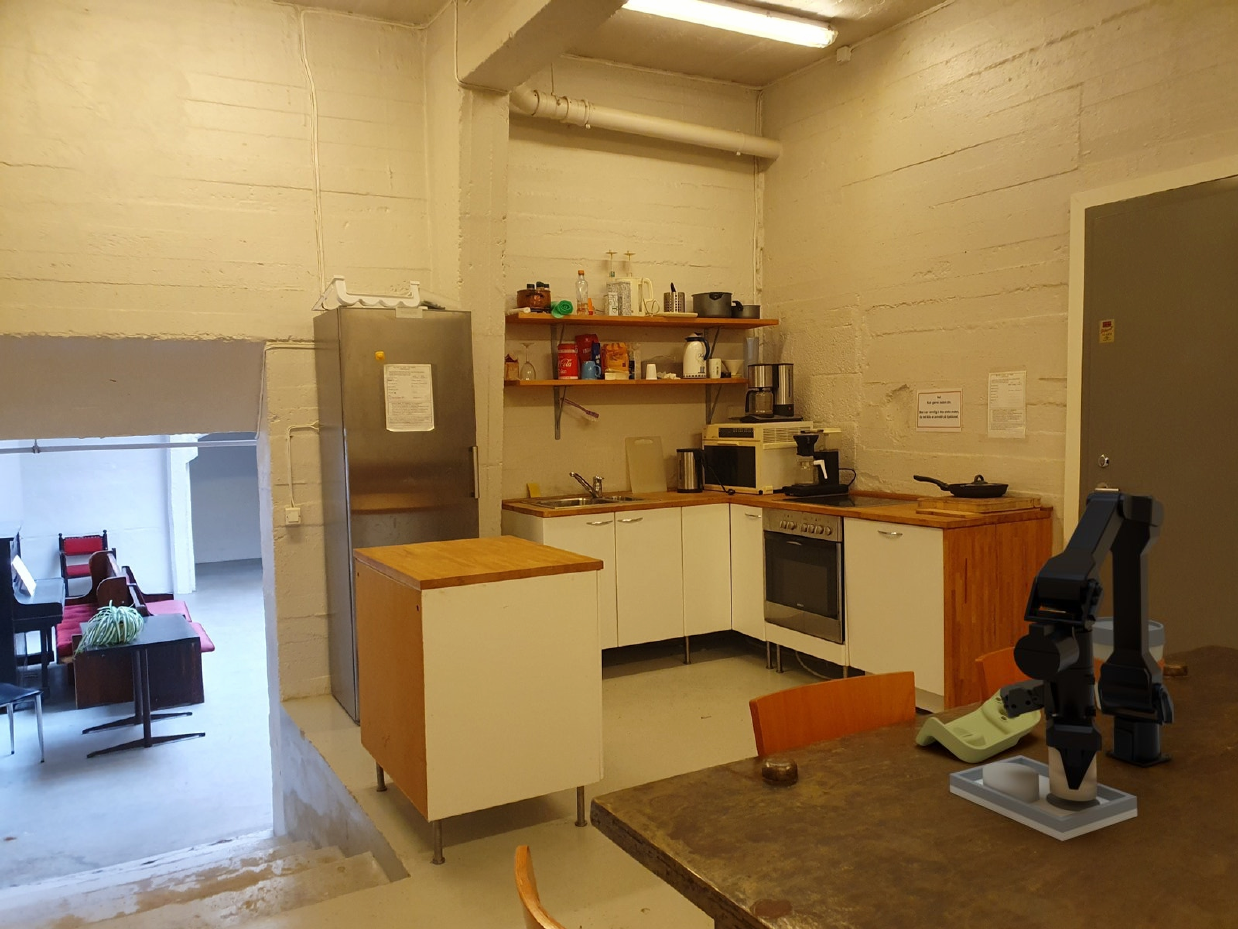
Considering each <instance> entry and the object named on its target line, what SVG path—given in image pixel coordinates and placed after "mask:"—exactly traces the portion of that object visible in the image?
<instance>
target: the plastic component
mask: <svg viewBox="0 0 1238 929" xmlns="http://www.w3.org/2000/svg"><path fill="white" fill-rule="evenodd" d="M1001 688H1002V687H1000V688H999V689H998V690H997V691H996V692H995V693H994V694H993V695H992V696H991V697H990V698H989V699H988V700H987V699H986V701H985V702H984V703H983V704H982V705H980V707H978V708H977V709H976V710H974V711H972V712H970V713H968V714H966V715H964V716H961V717H958V718H957V719H954V720H951V721H950V722H947V723H945V724H944V723H943V722H942V721H940V719H939V718H937V717H934V716H932V717H931V716H930V717H929V718H927V719H926V720H925V722H924V723H923V725H922V726H921V729H920V730H919V733H918V734H917V735H916V737H915V742H916V744H918V745H919V746H922V747H925V746H928V745H931V744H933V743H935V742H939V743H940V744H941V745H942V746H943V747H945V748H946V749H948V750H949V751H950V752H951V753H952V754H953V755H955V756H956V757H957V758H958V759H960V760H962V761H963V762H966V763H970V764H976V763H980V762H982V761H984V760H987V759H989V758H991V757H993V756H995V755H997V754H1000V753H1001V752H1003V751H1006V750H1008V749H1010V748H1011V747H1014V746H1016V745H1017V744H1018V741H1019V740H1020V738H1023V737H1024V736H1026V735H1027V734H1029V733H1030V732H1031V731H1032V730H1033V729H1034V728H1035V727H1036V726H1037V725H1038V723H1039V722H1040V720H1041V717H1042V715H1041V710H1037V711H1033V712H1029V713H1025V714H1021V715H1020V716H1019V717H1015V718H1009V716H1008V714H1007V712H1006V709H1004V707H1003V702H1002V700H1001V697H1000V689H1001Z"/></svg>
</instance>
